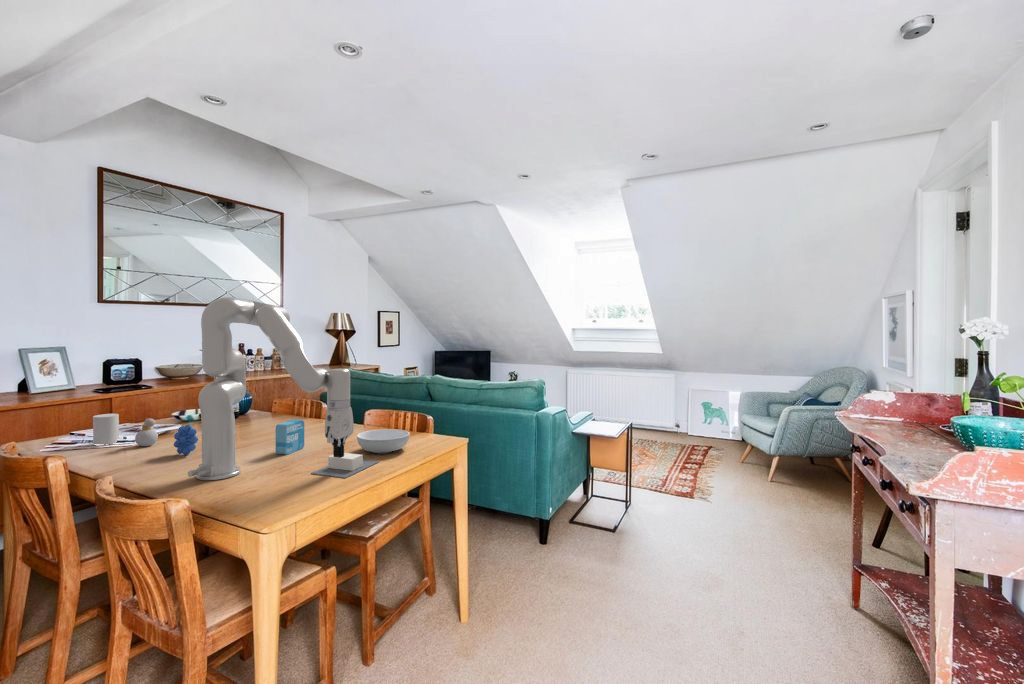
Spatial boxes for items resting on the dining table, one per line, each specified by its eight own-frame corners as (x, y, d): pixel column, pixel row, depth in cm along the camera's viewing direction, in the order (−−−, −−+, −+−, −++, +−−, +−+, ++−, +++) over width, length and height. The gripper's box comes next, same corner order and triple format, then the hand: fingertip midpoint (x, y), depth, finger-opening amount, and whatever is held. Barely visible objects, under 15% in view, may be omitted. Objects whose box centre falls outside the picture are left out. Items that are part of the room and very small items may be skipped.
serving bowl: (420, 448, 194) (420, 432, 193) (382, 460, 176) (382, 442, 175) (384, 441, 204) (384, 426, 204) (345, 452, 186) (345, 435, 186)
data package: (285, 455, 180) (285, 425, 180) (275, 455, 181) (275, 424, 181) (304, 448, 192) (304, 419, 192) (294, 447, 193) (294, 418, 193)
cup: (122, 443, 196) (121, 415, 196) (97, 447, 189) (97, 418, 189) (114, 440, 200) (114, 412, 200) (90, 444, 193) (89, 415, 193)
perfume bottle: (149, 443, 197) (148, 414, 196) (166, 444, 194) (166, 416, 194) (130, 447, 190) (130, 418, 189) (148, 449, 187) (148, 419, 187)
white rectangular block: (352, 459, 161) (362, 454, 167) (328, 456, 164) (339, 452, 169) (352, 471, 161) (362, 466, 167) (328, 468, 164) (339, 463, 170)
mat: (345, 478, 154) (345, 477, 154) (310, 473, 158) (310, 473, 158) (379, 462, 173) (379, 461, 173) (347, 458, 177) (347, 457, 177)
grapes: (207, 453, 181) (207, 423, 181) (190, 458, 175) (190, 426, 175) (186, 450, 185) (185, 421, 185) (168, 455, 179) (168, 424, 178)
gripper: (333, 408, 153) (333, 463, 153) (361, 401, 167) (361, 452, 167) (314, 407, 155) (314, 461, 155) (343, 400, 169) (343, 450, 170)
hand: (338, 456), depth 161 cm, fingers closed
